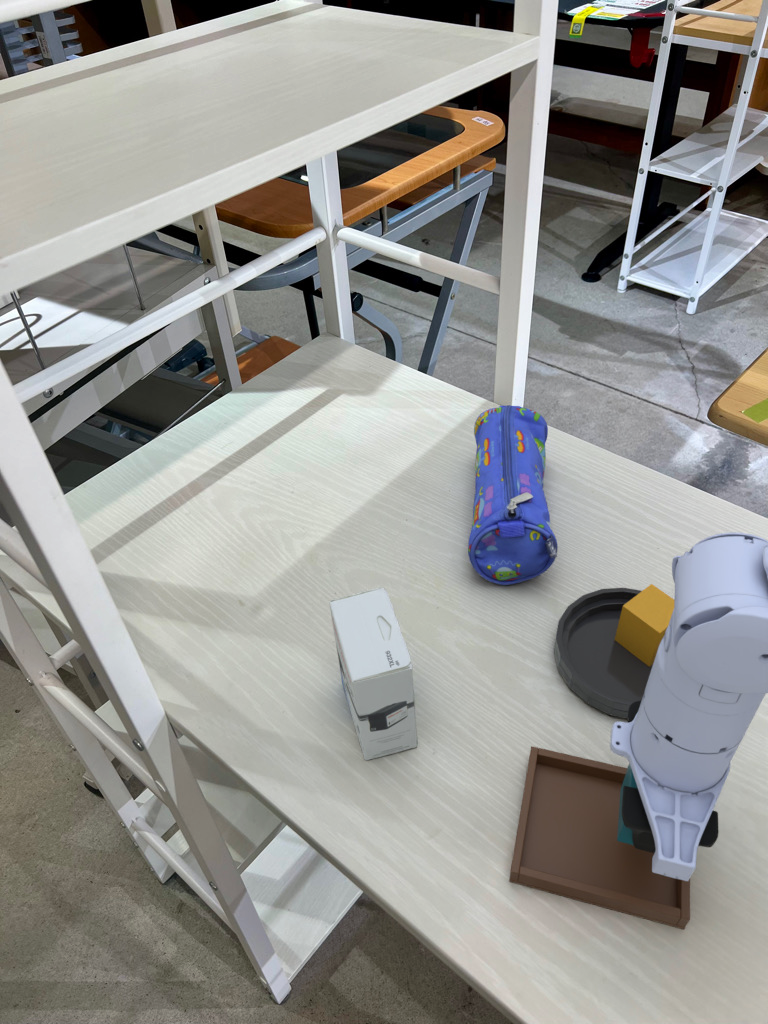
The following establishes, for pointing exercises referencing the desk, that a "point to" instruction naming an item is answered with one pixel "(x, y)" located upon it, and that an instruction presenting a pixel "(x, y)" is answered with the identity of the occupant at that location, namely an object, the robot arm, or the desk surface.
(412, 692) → the ink box
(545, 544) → the pencil case
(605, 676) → the pan
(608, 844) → the tray
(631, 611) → the mustard block
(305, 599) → the desk surface
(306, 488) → the desk surface
